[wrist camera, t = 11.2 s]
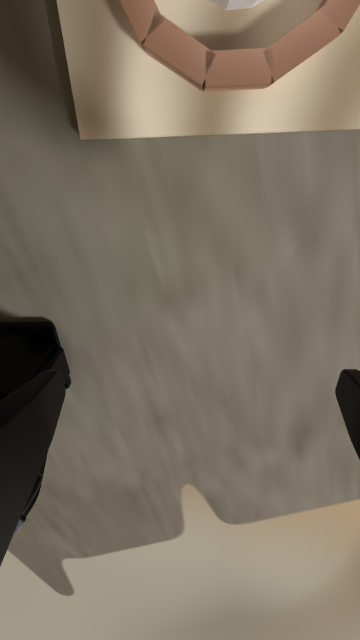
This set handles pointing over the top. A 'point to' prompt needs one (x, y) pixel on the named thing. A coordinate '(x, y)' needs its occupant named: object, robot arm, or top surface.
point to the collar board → (211, 67)
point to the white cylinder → (234, 4)
